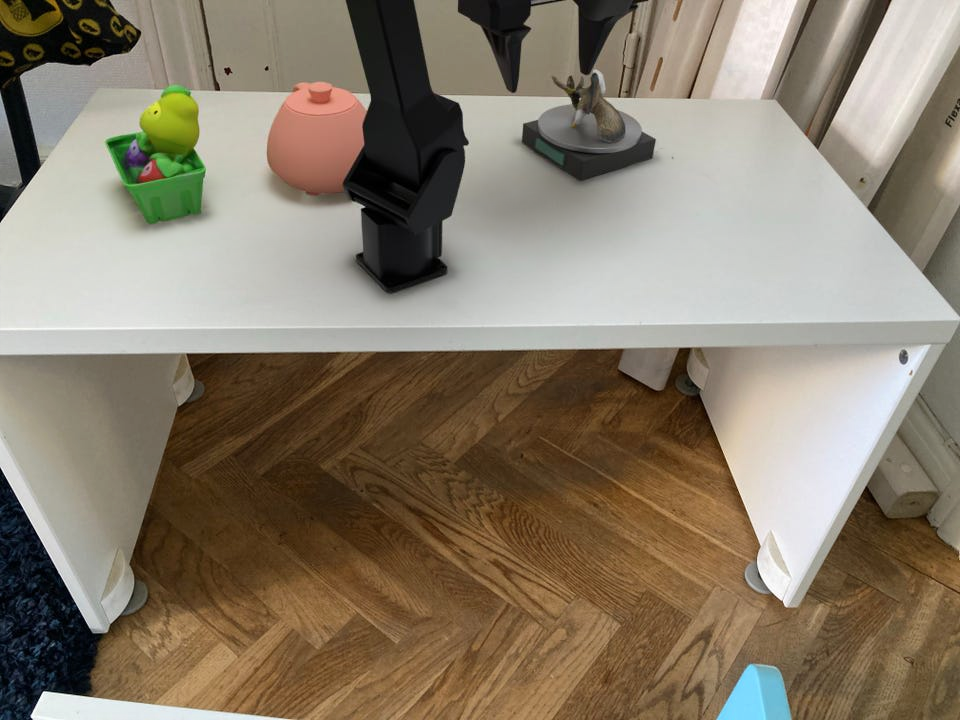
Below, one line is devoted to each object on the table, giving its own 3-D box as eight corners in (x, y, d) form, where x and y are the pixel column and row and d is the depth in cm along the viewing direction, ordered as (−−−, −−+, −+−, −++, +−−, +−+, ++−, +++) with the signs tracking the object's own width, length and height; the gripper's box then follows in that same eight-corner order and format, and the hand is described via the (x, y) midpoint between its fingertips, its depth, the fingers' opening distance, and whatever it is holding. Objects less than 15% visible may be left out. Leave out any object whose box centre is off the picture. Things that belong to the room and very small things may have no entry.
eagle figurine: (534, 108, 95) (577, 125, 88) (563, 49, 93) (609, 62, 86) (580, 135, 99) (624, 153, 92) (609, 79, 98) (656, 93, 91)
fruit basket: (114, 183, 86) (85, 77, 79) (199, 166, 90) (178, 64, 83) (138, 234, 79) (108, 123, 72) (229, 214, 83) (209, 106, 75)
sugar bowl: (291, 215, 83) (279, 119, 76) (251, 157, 92) (237, 66, 86) (402, 190, 88) (400, 98, 81) (353, 137, 97) (348, 50, 90)
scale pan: (582, 162, 89) (583, 157, 88) (516, 121, 96) (517, 116, 96) (662, 138, 94) (663, 133, 94) (594, 101, 102) (595, 96, 101)
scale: (578, 181, 91) (580, 161, 89) (519, 143, 98) (520, 123, 96) (652, 158, 96) (656, 139, 94) (591, 123, 103) (594, 104, 101)
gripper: (536, -61, 62) (521, 134, 72) (709, -85, 70) (674, 92, 80) (456, -92, 69) (452, 89, 79) (622, -111, 77) (600, 56, 87)
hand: (549, 82), depth 81 cm, fingers open, 9 cm apart
